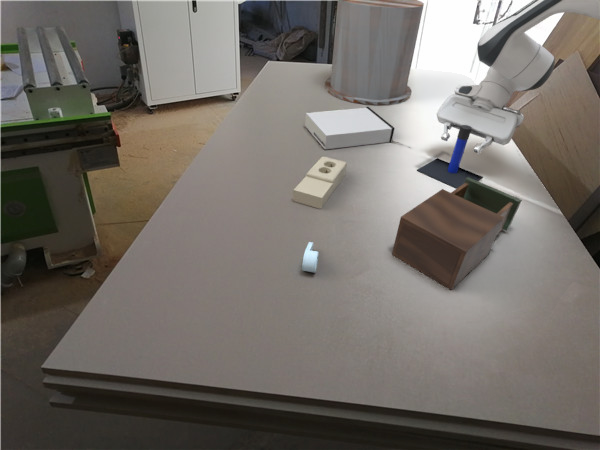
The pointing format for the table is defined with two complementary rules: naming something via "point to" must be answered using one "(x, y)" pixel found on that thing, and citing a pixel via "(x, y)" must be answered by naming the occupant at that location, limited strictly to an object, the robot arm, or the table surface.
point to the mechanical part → (310, 259)
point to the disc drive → (348, 128)
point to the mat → (447, 173)
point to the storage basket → (374, 50)
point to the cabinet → (446, 237)
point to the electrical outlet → (320, 182)
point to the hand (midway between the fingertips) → (459, 145)
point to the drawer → (490, 200)
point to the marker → (459, 148)
